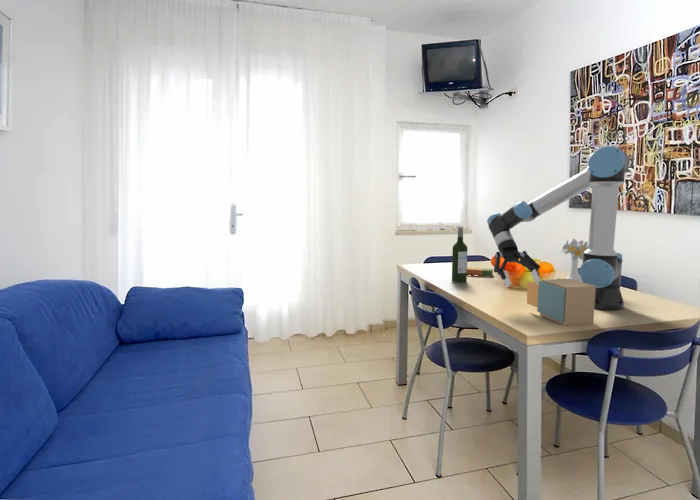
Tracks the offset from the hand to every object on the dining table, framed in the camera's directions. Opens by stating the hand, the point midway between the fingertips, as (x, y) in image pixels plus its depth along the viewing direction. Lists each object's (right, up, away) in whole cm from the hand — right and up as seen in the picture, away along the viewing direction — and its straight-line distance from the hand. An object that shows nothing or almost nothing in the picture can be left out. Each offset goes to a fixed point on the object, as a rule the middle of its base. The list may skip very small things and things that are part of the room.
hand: (524, 284), depth 173 cm
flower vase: (+40, -6, +36) cm, 54 cm away
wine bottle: (-11, -3, +59) cm, 61 cm away
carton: (+5, -1, +78) cm, 78 cm away
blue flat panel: (+3, -10, -11) cm, 15 cm away
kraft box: (+11, -12, -13) cm, 20 cm away
